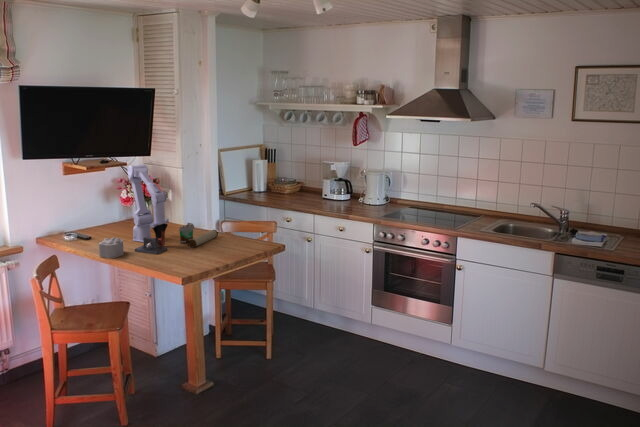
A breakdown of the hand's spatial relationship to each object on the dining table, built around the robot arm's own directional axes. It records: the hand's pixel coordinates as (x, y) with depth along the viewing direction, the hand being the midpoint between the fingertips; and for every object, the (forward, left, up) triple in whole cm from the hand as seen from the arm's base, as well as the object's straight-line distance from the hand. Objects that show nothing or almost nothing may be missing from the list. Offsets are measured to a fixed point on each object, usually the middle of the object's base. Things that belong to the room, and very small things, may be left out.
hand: (160, 237), depth 337 cm
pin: (0, -5, -4) cm, 7 cm away
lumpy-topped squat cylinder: (-14, -23, -6) cm, 28 cm away
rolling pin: (+17, +18, -6) cm, 26 cm away
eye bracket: (0, -9, -5) cm, 10 cm away
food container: (+9, +15, -6) cm, 19 cm away
